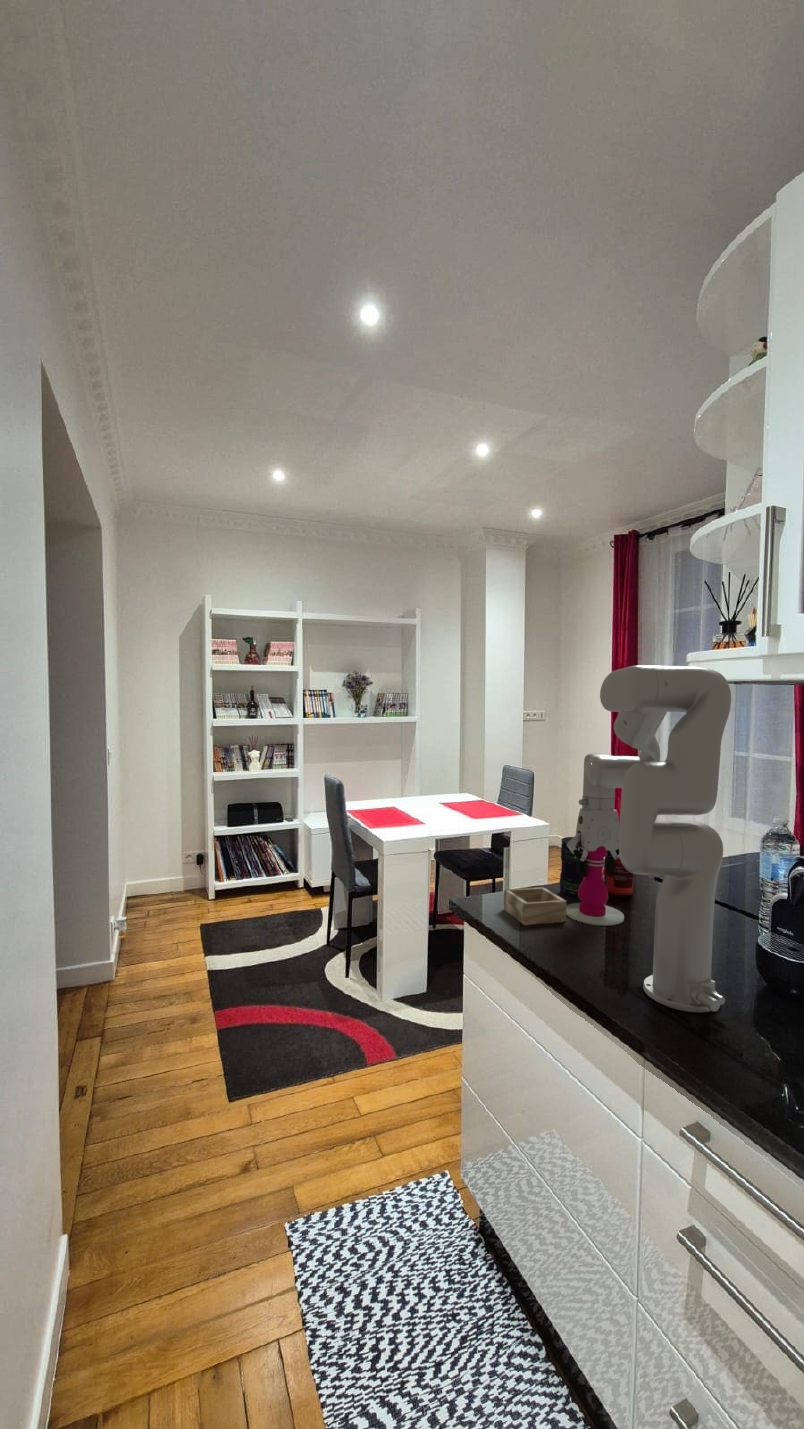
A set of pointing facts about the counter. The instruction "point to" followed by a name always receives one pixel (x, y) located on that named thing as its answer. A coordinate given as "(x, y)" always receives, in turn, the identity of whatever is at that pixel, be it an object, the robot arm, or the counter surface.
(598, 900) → the pepper mill
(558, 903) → the box
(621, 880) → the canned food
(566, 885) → the storage jar
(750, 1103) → the counter surface
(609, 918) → the coaster
